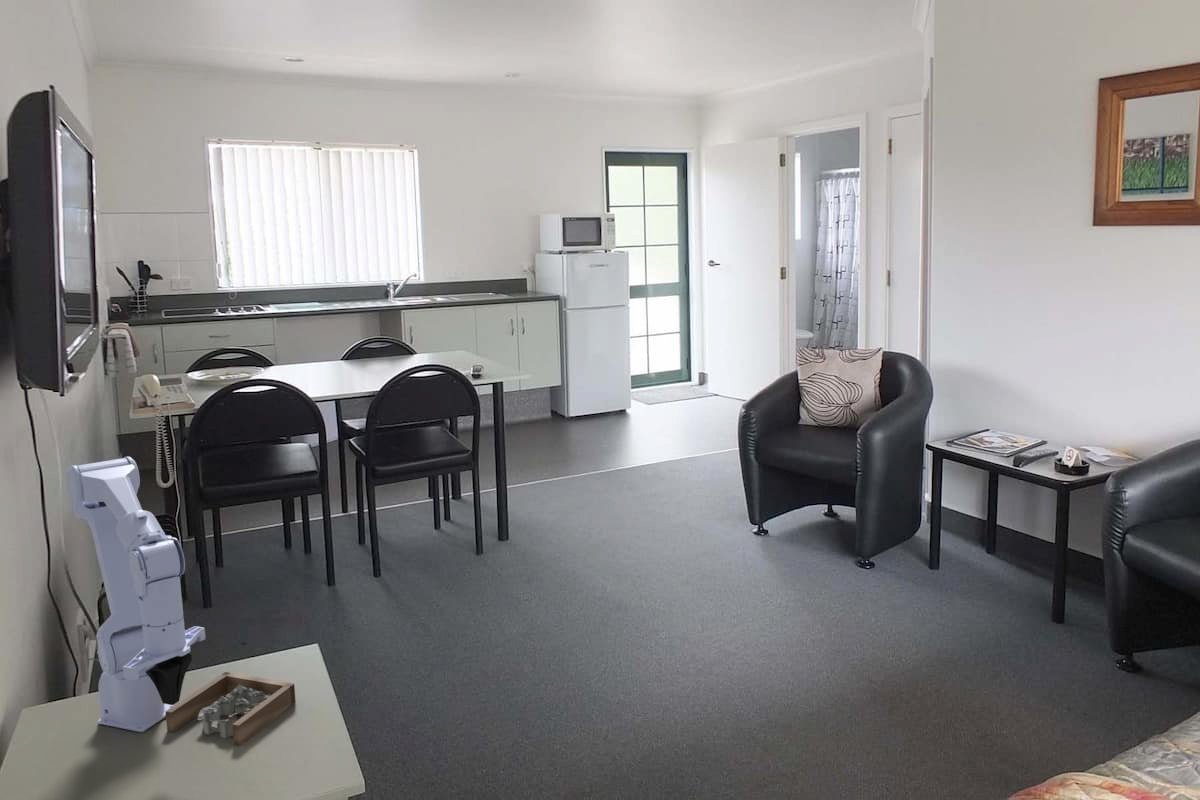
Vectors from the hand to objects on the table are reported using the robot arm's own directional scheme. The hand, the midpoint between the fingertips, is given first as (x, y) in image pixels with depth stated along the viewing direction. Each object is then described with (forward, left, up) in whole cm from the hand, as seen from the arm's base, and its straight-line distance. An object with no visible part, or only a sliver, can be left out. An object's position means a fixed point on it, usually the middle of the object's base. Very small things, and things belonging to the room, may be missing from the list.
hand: (171, 702), depth 141 cm
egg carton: (+1, +12, -10) cm, 16 cm away
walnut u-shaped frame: (0, +13, -9) cm, 16 cm away
